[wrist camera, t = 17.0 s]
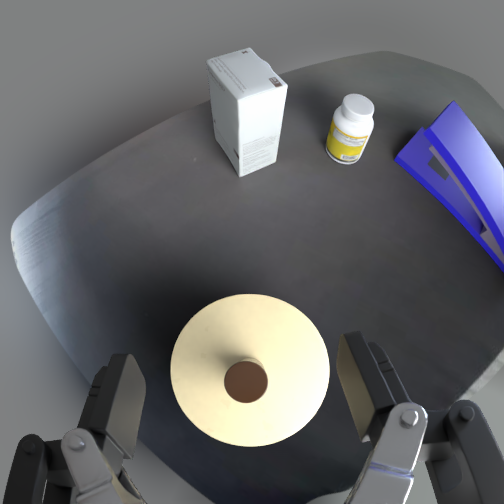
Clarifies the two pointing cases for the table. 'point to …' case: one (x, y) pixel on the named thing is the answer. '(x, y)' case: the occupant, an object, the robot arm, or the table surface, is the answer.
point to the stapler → (461, 176)
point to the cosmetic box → (246, 108)
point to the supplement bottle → (350, 129)
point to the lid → (249, 370)
